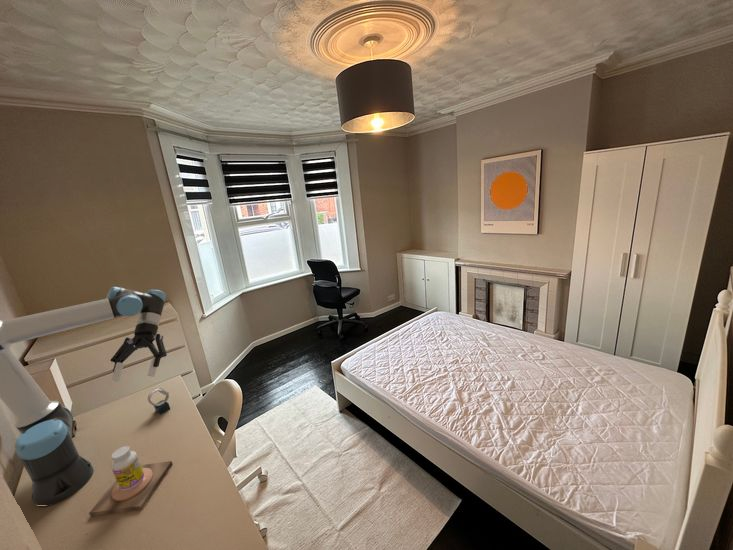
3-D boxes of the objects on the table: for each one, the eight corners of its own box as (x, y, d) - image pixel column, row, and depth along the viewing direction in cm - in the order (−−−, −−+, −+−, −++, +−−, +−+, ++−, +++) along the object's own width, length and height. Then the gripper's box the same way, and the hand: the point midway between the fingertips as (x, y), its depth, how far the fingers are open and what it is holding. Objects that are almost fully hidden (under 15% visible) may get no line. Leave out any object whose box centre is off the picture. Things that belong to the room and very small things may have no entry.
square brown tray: (90, 516, 91) (88, 512, 90) (128, 470, 106) (127, 466, 106) (142, 509, 91) (140, 505, 91) (172, 464, 107) (171, 461, 106)
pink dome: (103, 503, 93) (102, 501, 93) (129, 472, 104) (128, 470, 103) (138, 498, 93) (137, 496, 93) (160, 468, 104) (159, 465, 103)
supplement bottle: (116, 494, 94) (102, 463, 91) (126, 476, 100) (114, 447, 97) (139, 487, 96) (126, 456, 92) (148, 470, 102) (136, 441, 99)
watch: (174, 406, 139) (168, 386, 137) (155, 417, 133) (148, 396, 130) (170, 402, 143) (163, 383, 140) (151, 412, 137) (143, 392, 134)
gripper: (183, 324, 125) (172, 375, 114) (124, 332, 124) (108, 384, 114) (172, 318, 118) (159, 371, 108) (110, 326, 118) (91, 380, 107)
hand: (133, 378), depth 111 cm, fingers open, 13 cm apart
